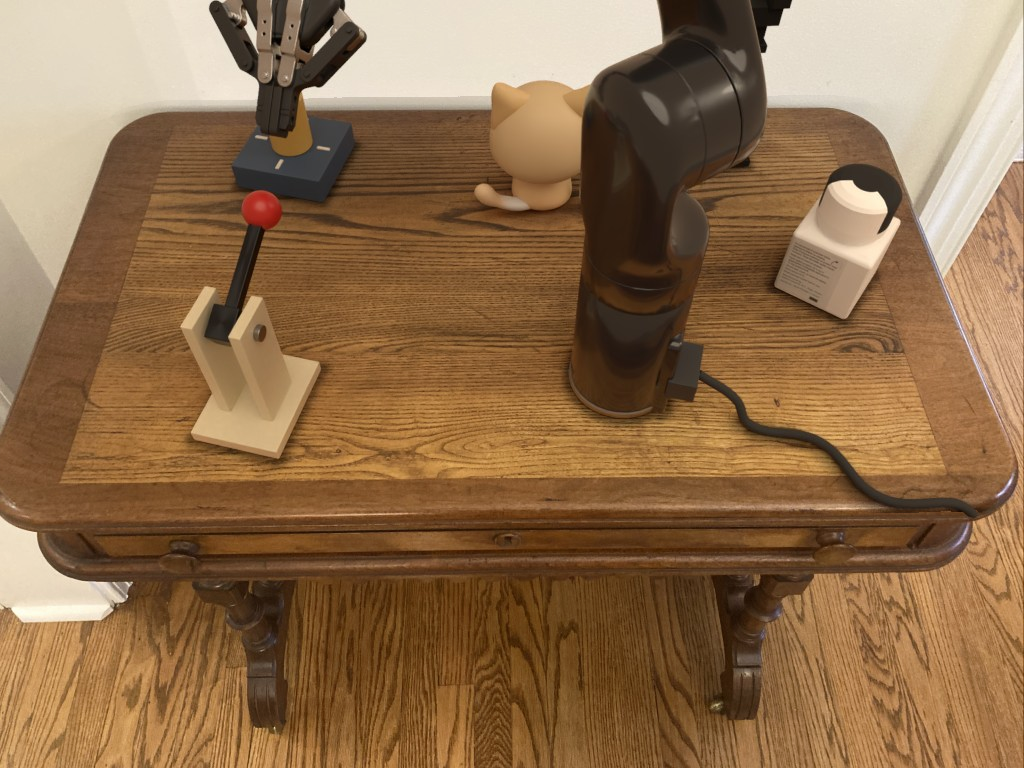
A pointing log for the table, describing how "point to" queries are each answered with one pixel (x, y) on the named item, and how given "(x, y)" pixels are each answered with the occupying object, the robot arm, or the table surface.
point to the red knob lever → (244, 263)
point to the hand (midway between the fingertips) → (274, 135)
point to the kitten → (535, 143)
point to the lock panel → (296, 162)
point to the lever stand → (247, 380)
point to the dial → (295, 135)
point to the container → (842, 239)
